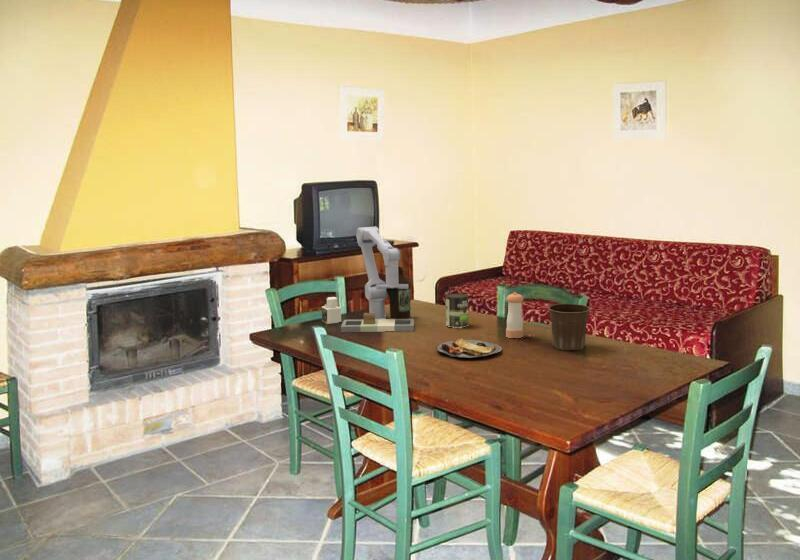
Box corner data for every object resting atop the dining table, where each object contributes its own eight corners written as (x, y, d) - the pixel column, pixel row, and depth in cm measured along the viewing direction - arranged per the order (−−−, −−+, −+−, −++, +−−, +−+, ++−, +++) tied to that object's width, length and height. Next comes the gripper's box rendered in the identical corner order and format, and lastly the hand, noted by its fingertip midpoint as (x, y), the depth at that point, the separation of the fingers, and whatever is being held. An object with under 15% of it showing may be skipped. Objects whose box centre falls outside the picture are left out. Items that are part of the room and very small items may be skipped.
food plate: (424, 352, 296) (424, 343, 295) (463, 341, 312) (463, 333, 311) (473, 365, 278) (473, 356, 278) (512, 353, 294) (512, 345, 294)
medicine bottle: (322, 321, 354) (321, 296, 352) (336, 319, 357) (335, 294, 355) (327, 324, 348) (326, 298, 346) (341, 322, 351) (340, 297, 349)
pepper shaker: (525, 336, 318) (526, 291, 315) (519, 339, 312) (519, 294, 309) (509, 334, 322) (510, 290, 319) (503, 338, 316) (503, 293, 313)
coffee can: (473, 326, 339) (473, 295, 336) (456, 329, 332) (456, 298, 330) (457, 322, 346) (457, 292, 344) (440, 326, 340) (440, 295, 338)
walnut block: (364, 321, 340) (363, 312, 340) (375, 321, 340) (375, 312, 340) (363, 324, 335) (363, 315, 335) (374, 323, 335) (374, 315, 335)
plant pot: (583, 354, 288) (583, 313, 285) (542, 350, 296) (542, 309, 293) (594, 344, 302) (595, 305, 299) (554, 340, 310) (555, 302, 307)
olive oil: (384, 318, 358) (383, 266, 354) (402, 315, 364) (401, 264, 360) (397, 322, 350) (396, 268, 345) (415, 318, 356) (415, 266, 351)
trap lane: (344, 325, 346) (344, 319, 345) (413, 324, 345) (413, 318, 344) (341, 332, 332) (341, 326, 331) (413, 331, 331) (413, 325, 331)
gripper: (375, 276, 336) (376, 306, 339) (408, 276, 336) (408, 306, 338) (376, 274, 343) (377, 303, 346) (408, 273, 343) (408, 303, 345)
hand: (392, 304), depth 342 cm, fingers closed
